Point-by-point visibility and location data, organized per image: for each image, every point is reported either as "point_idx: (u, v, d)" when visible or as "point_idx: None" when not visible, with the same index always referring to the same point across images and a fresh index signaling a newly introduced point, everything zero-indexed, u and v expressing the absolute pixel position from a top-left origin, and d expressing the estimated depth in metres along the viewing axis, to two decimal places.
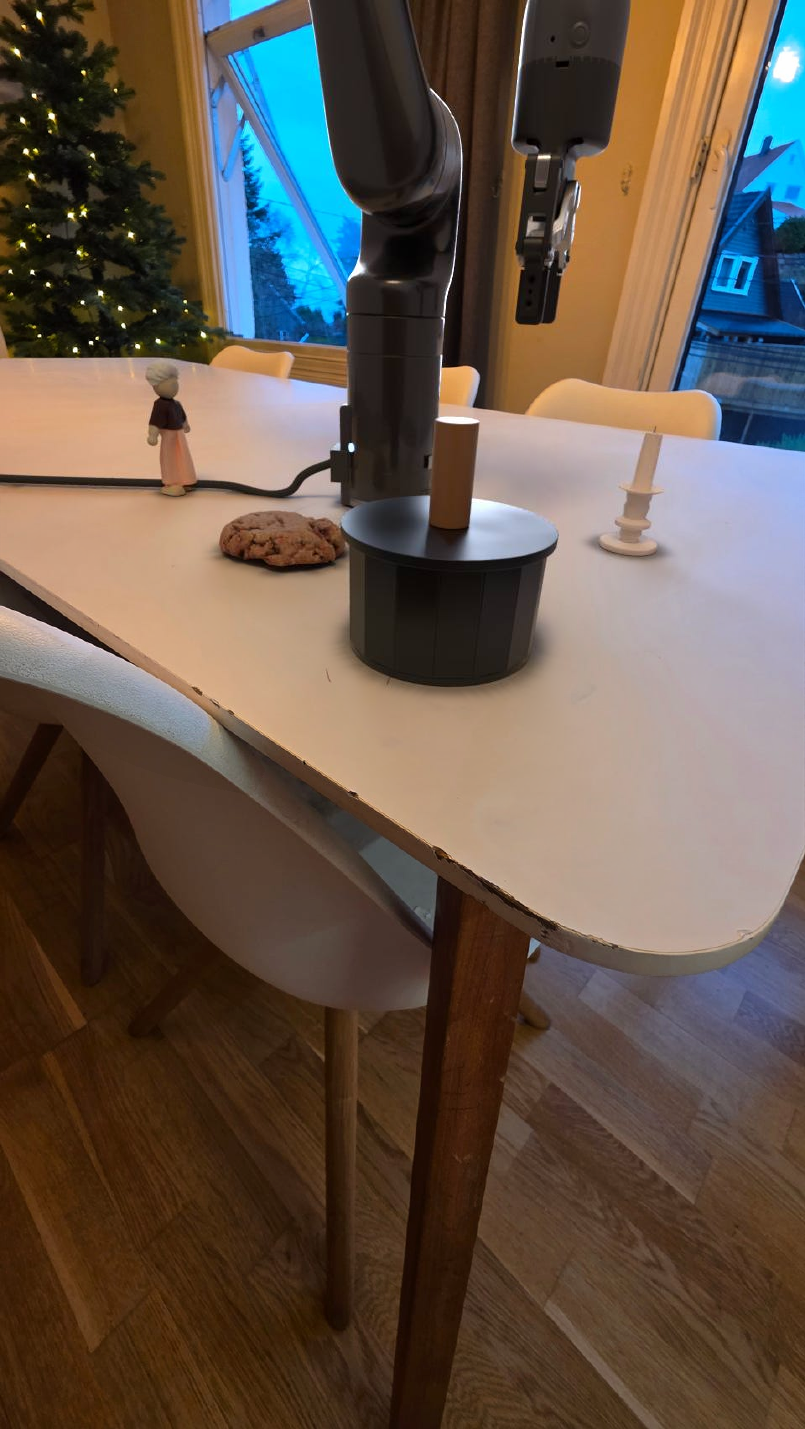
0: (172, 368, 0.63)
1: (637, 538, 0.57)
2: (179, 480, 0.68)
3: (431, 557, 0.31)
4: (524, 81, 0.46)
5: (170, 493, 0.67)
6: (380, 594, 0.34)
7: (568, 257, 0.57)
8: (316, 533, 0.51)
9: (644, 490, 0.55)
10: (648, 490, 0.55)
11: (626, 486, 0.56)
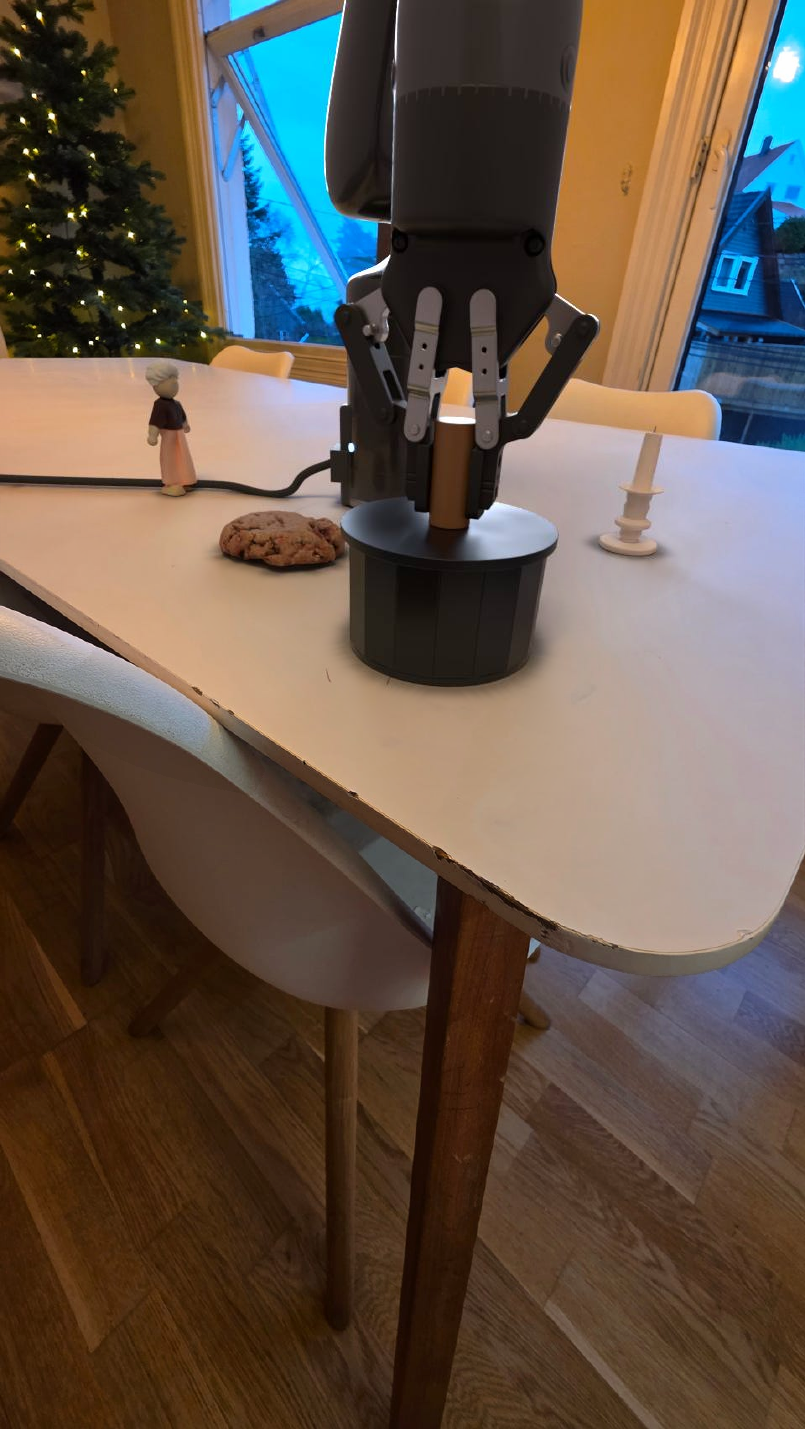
0: (172, 368, 0.63)
1: (637, 538, 0.57)
2: (179, 480, 0.68)
3: (431, 557, 0.31)
4: None
5: (170, 493, 0.67)
6: (380, 594, 0.34)
7: (520, 421, 0.31)
8: (316, 533, 0.51)
9: (644, 490, 0.55)
10: (648, 490, 0.55)
11: (626, 486, 0.56)
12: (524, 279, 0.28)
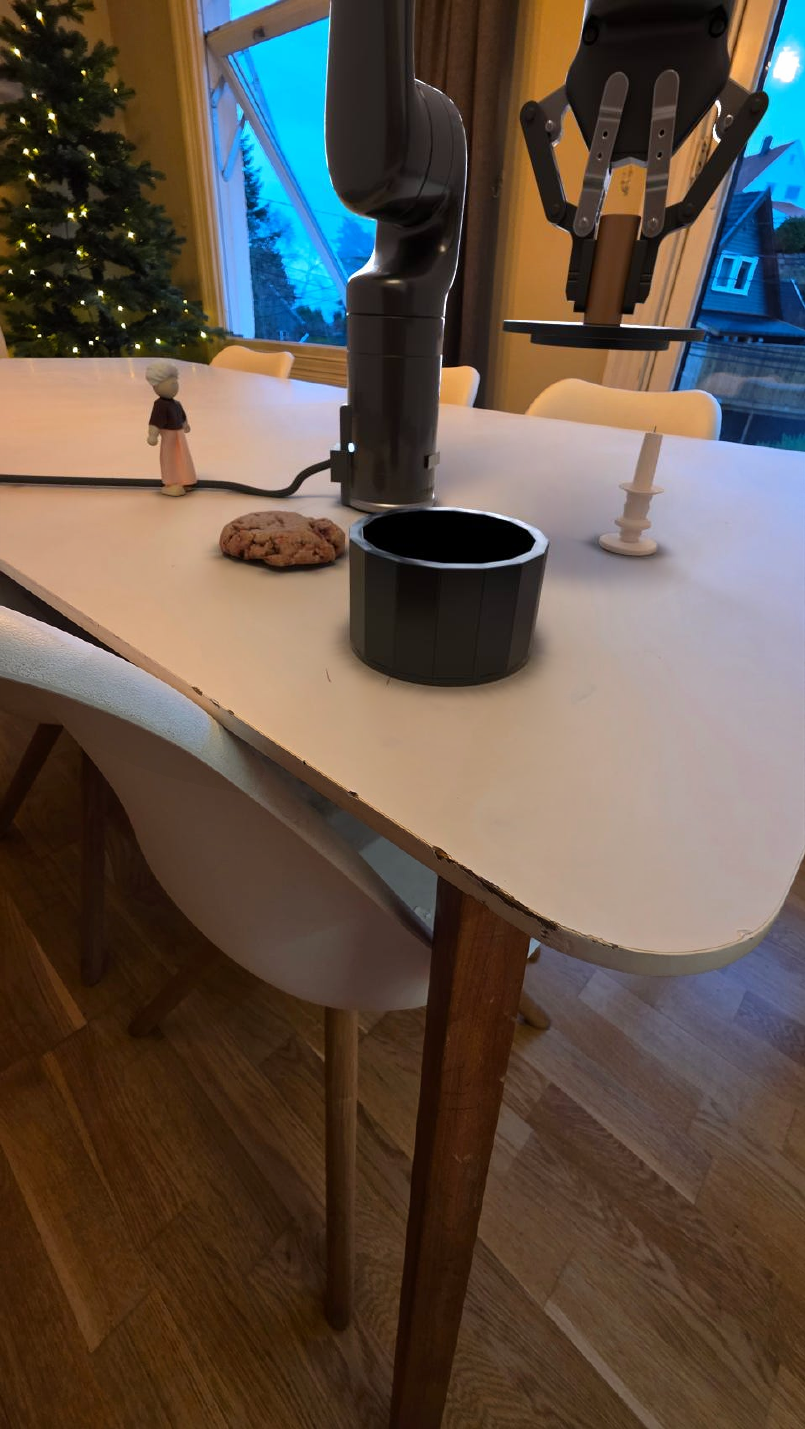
0: (172, 368, 0.63)
1: (637, 538, 0.57)
2: (179, 480, 0.68)
3: (607, 326, 0.35)
4: None
5: (170, 493, 0.67)
6: (380, 594, 0.34)
7: (686, 205, 0.35)
8: (316, 533, 0.51)
9: (644, 490, 0.55)
10: (648, 490, 0.55)
11: (626, 486, 0.56)
12: (704, 60, 0.32)
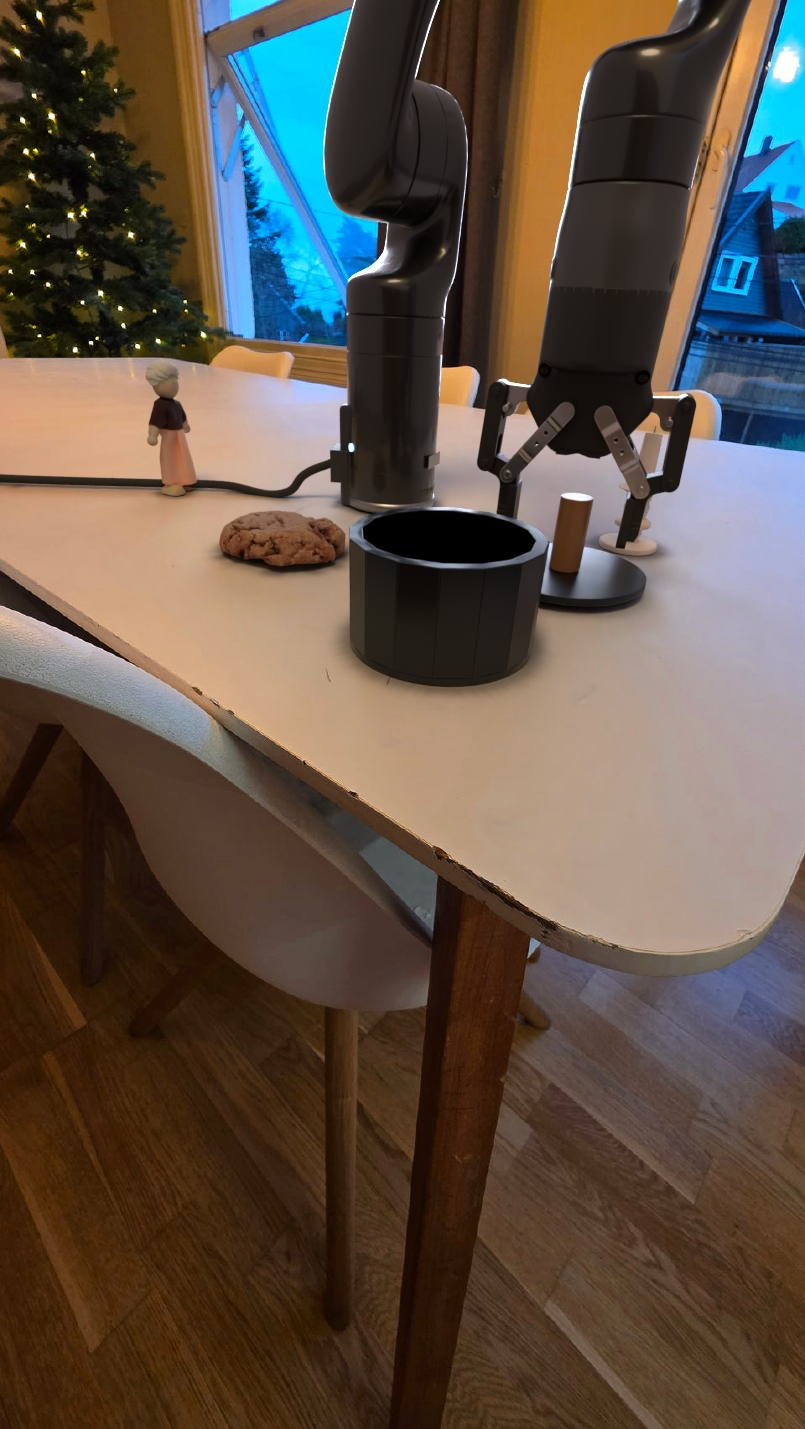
0: (172, 368, 0.63)
1: (637, 538, 0.57)
2: (179, 480, 0.68)
3: (565, 596, 0.45)
4: None
5: (170, 493, 0.67)
6: (380, 594, 0.34)
7: (666, 481, 0.43)
8: (316, 533, 0.51)
9: None
10: None
11: (626, 486, 0.56)
12: (633, 399, 0.41)
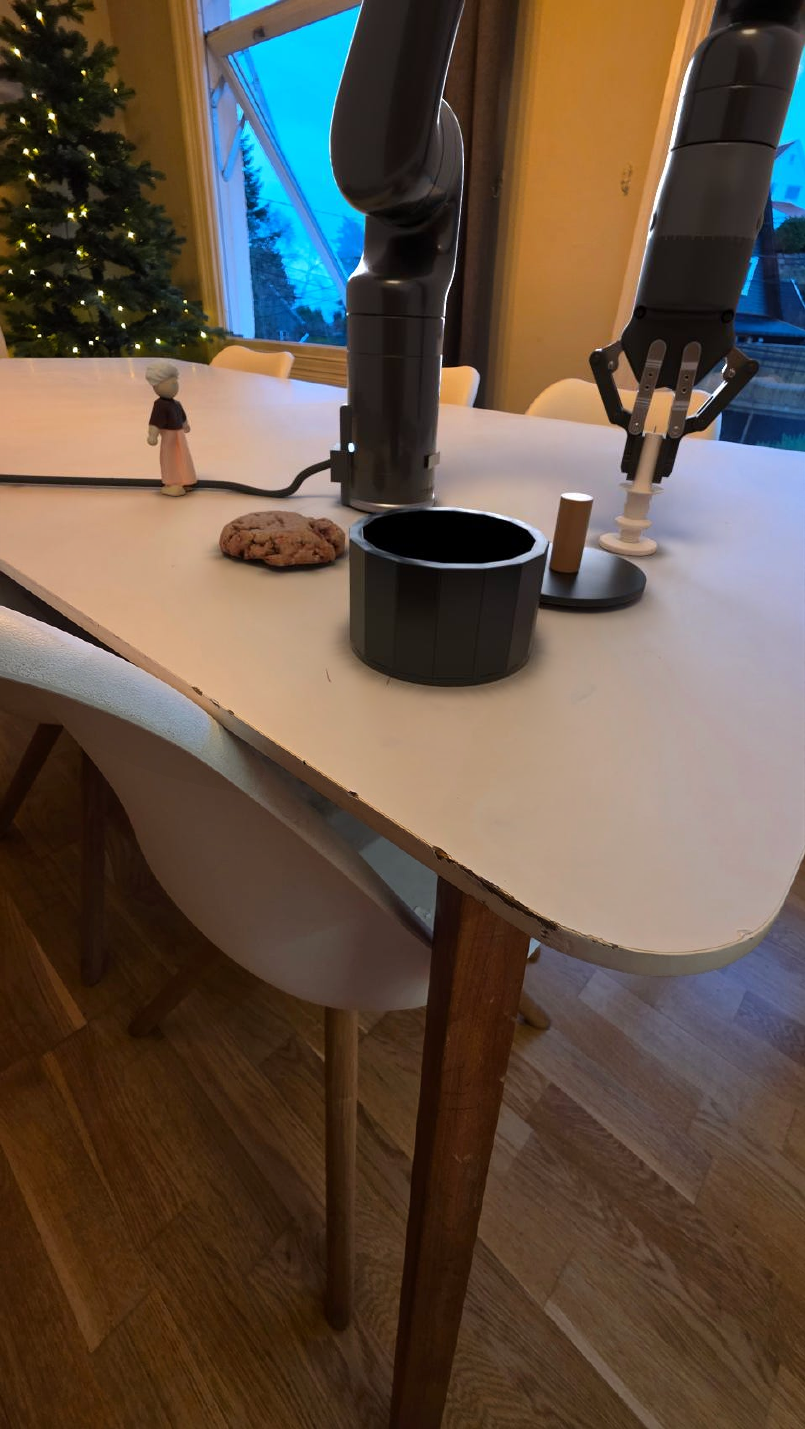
0: (172, 368, 0.63)
1: (637, 538, 0.57)
2: (179, 480, 0.68)
3: (565, 596, 0.45)
4: None
5: (170, 493, 0.67)
6: (380, 594, 0.34)
7: (699, 420, 0.51)
8: (316, 533, 0.51)
9: (644, 490, 0.55)
10: (648, 490, 0.55)
11: (626, 486, 0.56)
12: (718, 336, 0.48)
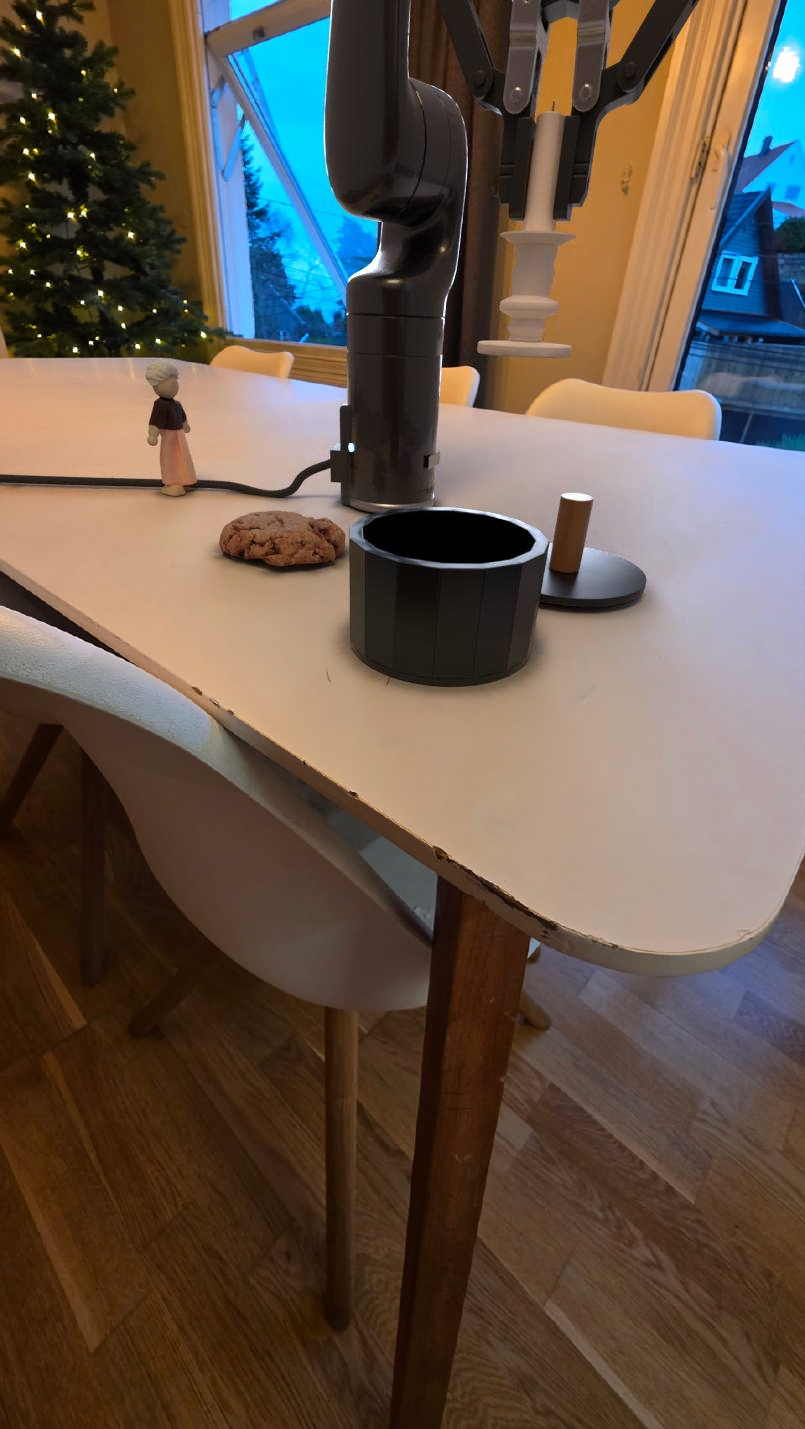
0: (172, 368, 0.63)
1: (537, 334, 0.34)
2: (179, 480, 0.68)
3: (565, 596, 0.45)
4: None
5: (170, 493, 0.67)
6: (380, 594, 0.34)
7: (627, 63, 0.27)
8: (316, 533, 0.51)
9: None
10: None
11: None
12: None
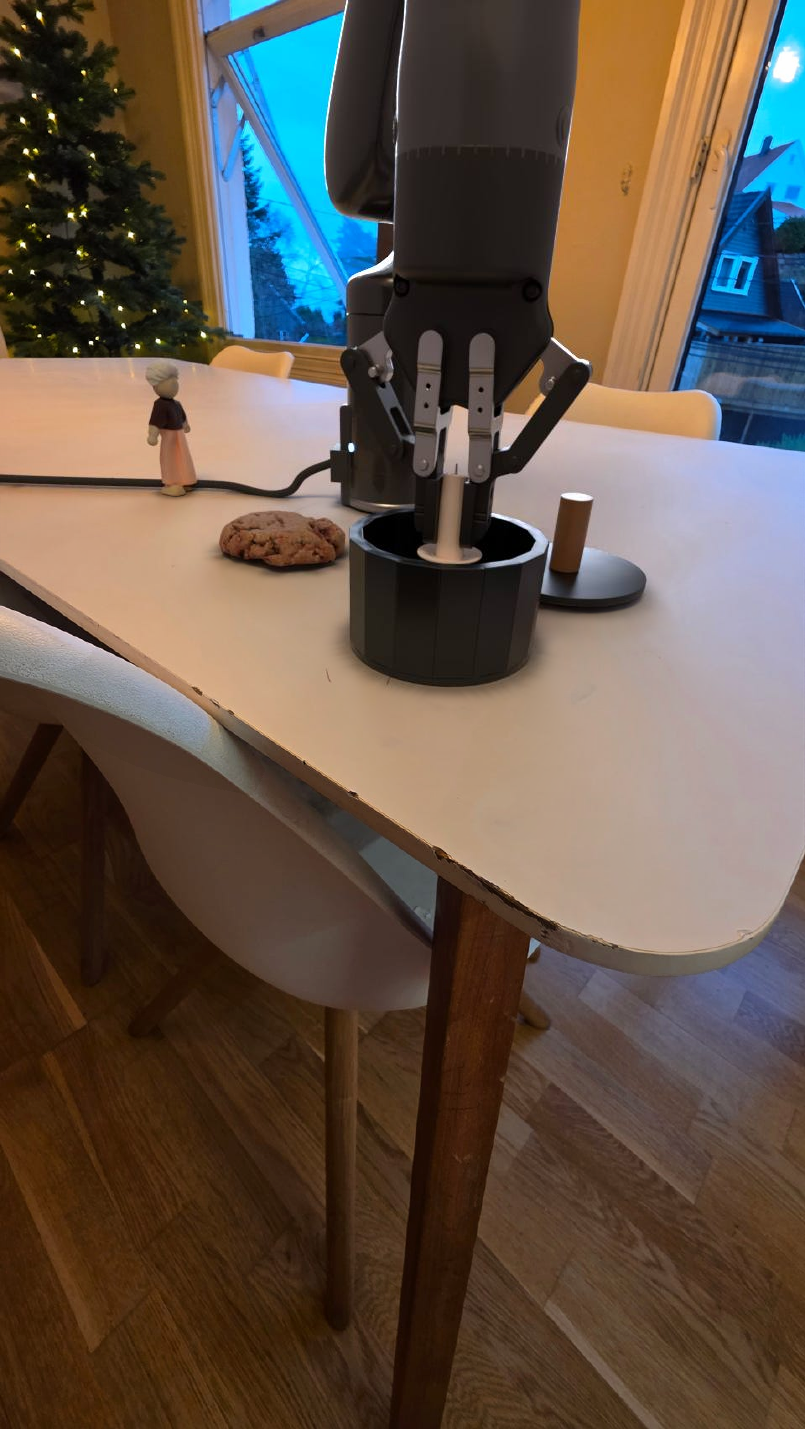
0: (172, 368, 0.63)
1: None
2: (179, 480, 0.68)
3: (565, 596, 0.45)
4: None
5: (170, 493, 0.67)
6: (380, 594, 0.34)
7: (511, 456, 0.32)
8: (316, 533, 0.51)
9: (451, 557, 0.37)
10: (457, 557, 0.37)
11: (431, 549, 0.38)
12: (521, 323, 0.29)
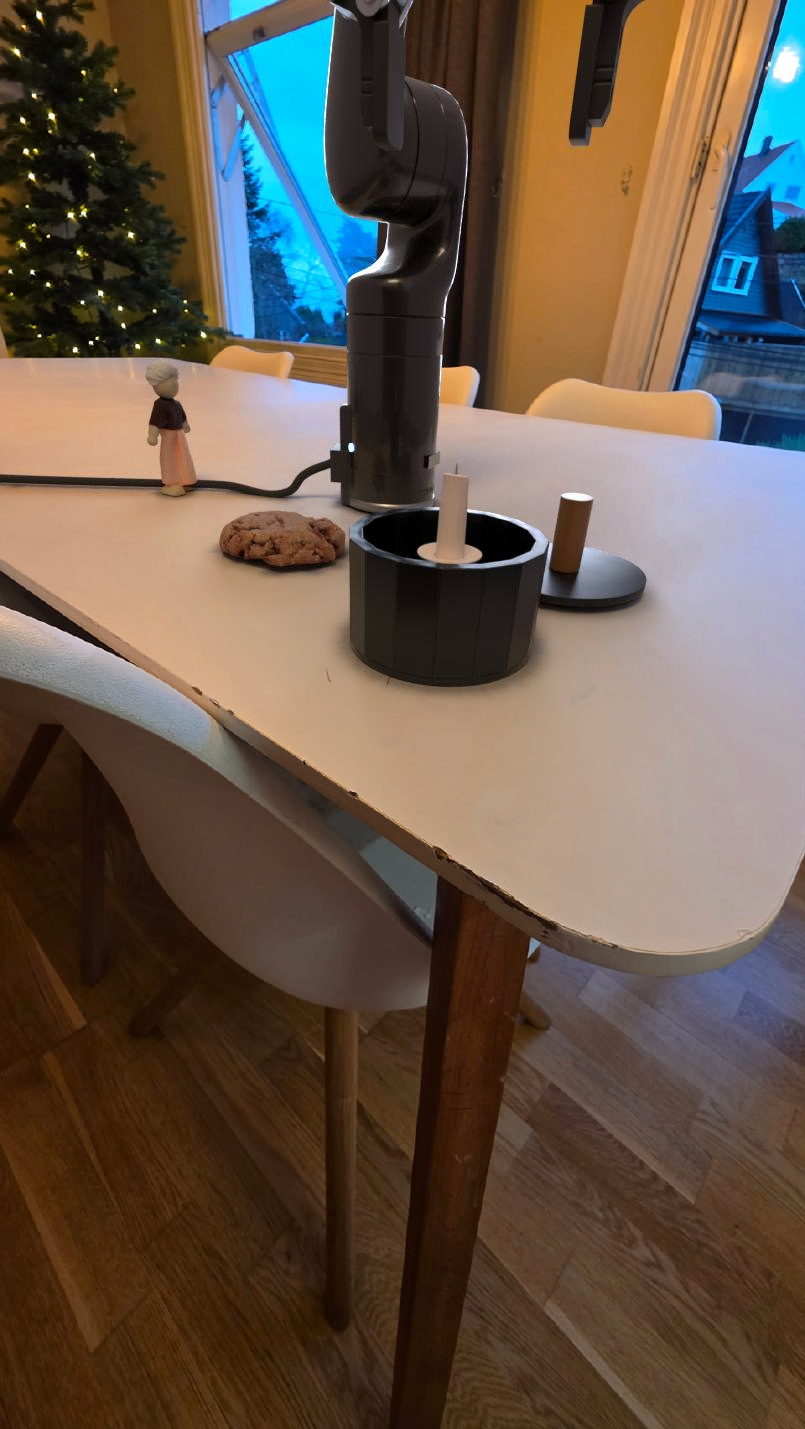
0: (172, 368, 0.63)
1: None
2: (179, 480, 0.68)
3: (565, 596, 0.45)
4: None
5: (170, 493, 0.67)
6: (380, 594, 0.34)
7: None
8: (316, 533, 0.51)
9: (451, 557, 0.37)
10: (457, 557, 0.37)
11: (431, 549, 0.38)
12: None
